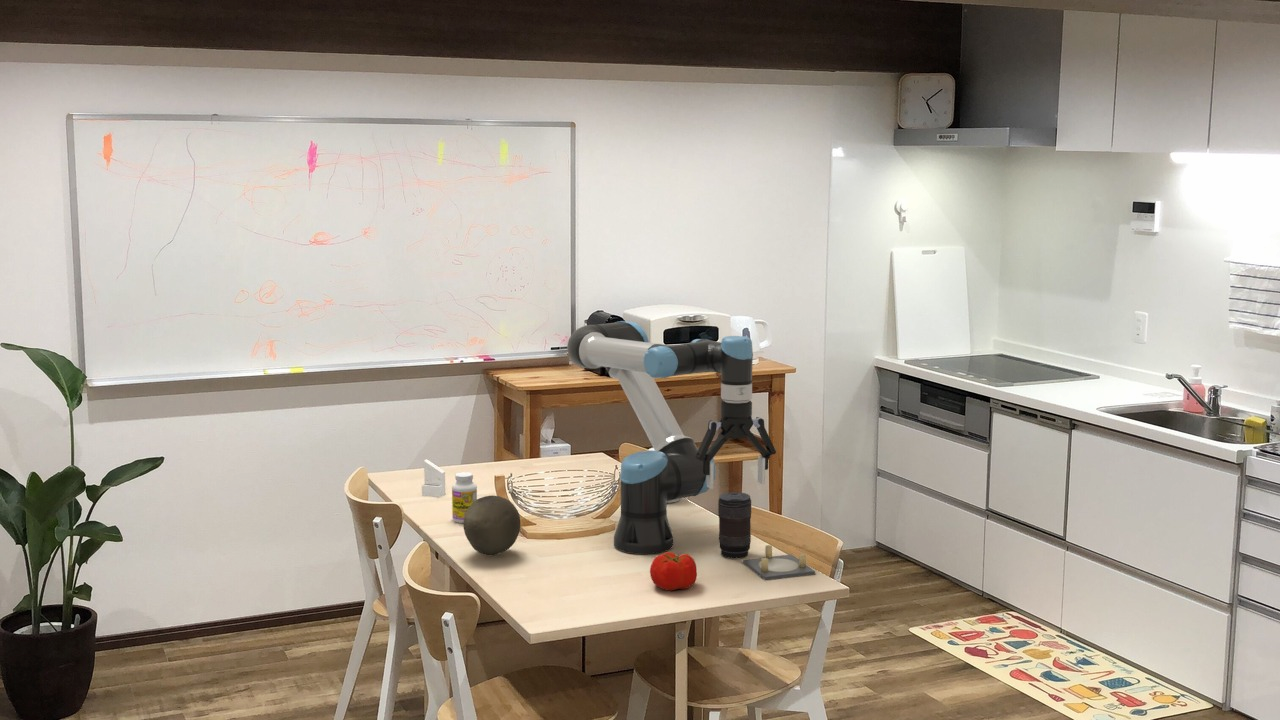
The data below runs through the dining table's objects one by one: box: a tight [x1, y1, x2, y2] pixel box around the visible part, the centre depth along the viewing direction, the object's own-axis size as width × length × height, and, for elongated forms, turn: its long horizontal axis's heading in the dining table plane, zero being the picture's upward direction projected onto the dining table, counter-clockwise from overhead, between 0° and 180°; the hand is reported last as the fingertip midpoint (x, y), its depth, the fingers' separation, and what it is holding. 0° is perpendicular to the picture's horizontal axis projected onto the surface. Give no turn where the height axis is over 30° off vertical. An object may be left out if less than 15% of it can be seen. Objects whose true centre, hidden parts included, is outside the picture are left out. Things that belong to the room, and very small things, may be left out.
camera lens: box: [717, 491, 752, 560], centre depth 304 cm, size 8×8×15 cm
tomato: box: [649, 551, 698, 591], centre depth 282 cm, size 11×11×8 cm
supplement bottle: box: [451, 471, 478, 524], centre depth 333 cm, size 7×7×13 cm
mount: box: [742, 544, 816, 581], centre depth 294 cm, size 13×13×4 cm
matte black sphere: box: [462, 495, 521, 557], centre depth 303 cm, size 14×14×15 cm
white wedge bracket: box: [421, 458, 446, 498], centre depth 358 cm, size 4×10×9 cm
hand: (735, 485), depth 302 cm, fingers open, 13 cm apart
